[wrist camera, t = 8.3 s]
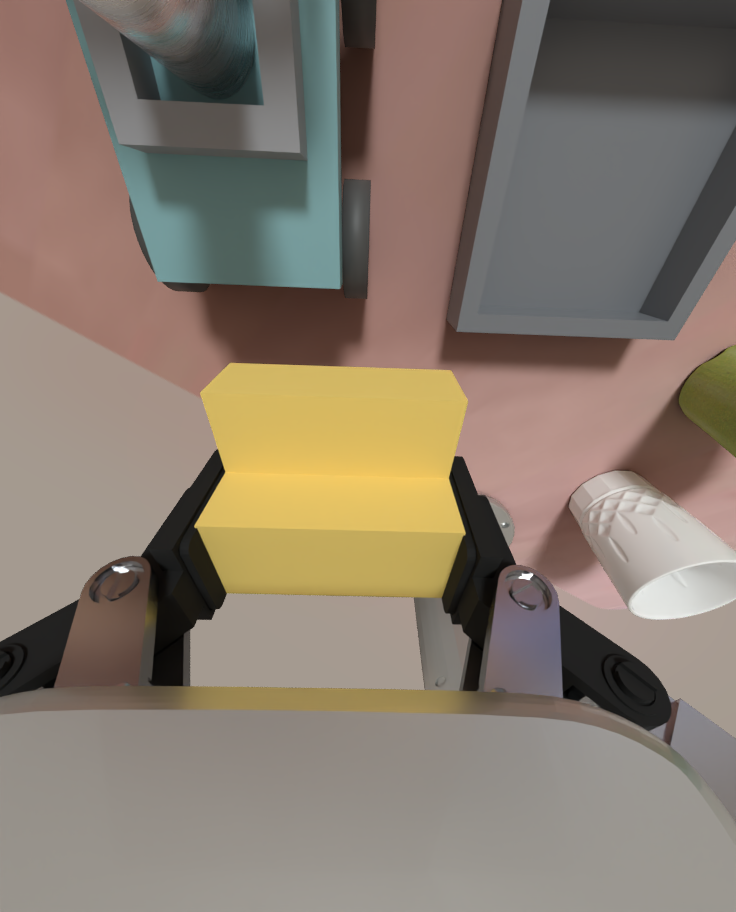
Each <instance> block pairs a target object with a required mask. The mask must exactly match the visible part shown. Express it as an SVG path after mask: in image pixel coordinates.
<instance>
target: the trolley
mask: <svg viewBox="0 0 736 912" xmlns="http://www.w3.org/2000/svg"><path fill="white" fill-rule="evenodd" d="M66 2H67V5H68V9H69V12H70V15H71V18H72V21H73V24H74V27H75V30H76V33H77V36H78V39H79V42H80V45H81V48H82V51H83V54H84V57H85V61H86V64H87V67H88V70H89V73H90V76H91V79H92V82H93V85H94V88H95V91H96V94H97V97H98V100H99V103H100V106H101V109H102V113H103V116H104V119H105V122H106V125H107V128H108V131H109V134H110V137H111V140H112V143H113V146H114V149H115V152H116V155H117V158H118V161H119V164H120V168H121V171H122V174H123V177H124V180H125V183H126V186H127V189H128V192H129V202H130V212H131V218H132V222H133V226H134V230H135V233H136V237H137V240H138V242H139V245H140V247H141V250H142V252H143V254H144V256H145V258H146V260H147V262H148V264H149V265H150V267H151V269H152V270H153V272H154V273H155V275H156V278H157V281H158V282H163V283H164V284H165V285H166V286H167V287H168V288H170V289H172V290H175V291H187V292H204V291H205V290H207V289H208V287H209V286H210V284H231V285H256V286H280V287H304V288H329V289H340V288H341V286H342V284H343V285H344V295H345V298H359V299H367V287H368V256H369V223H370V189H371V180H355V179H345V180H344V185H343V203H342V197H341V114H340V31H339V0H248V2H249V5H250V9H251V13H252V18H253V24H254V33H255V52H254V60H253V65H252V68H251V71H250V74H249V77H248V79H247V81H246V82H245V84H244V85H243V87H242V88H241V89H240V90H239V91H238V92H237V93H236V94H234V95H232V96H230V97H228V98H224V99H214V98H209V97H206V96H204V95H202V94H200V93H198V92H197V91H195V90H194V89H193V88H191V87H190V86H189V85H187V84H186V83H185V82H184V81H182V80H181V79H180V78H178V77H177V76H176V75H175V74H173V73H172V72H171V71H169V70H168V69H167V68H166V67H164V66H163V65H162V64H160V63H159V62H158V61H157V60H155V59H154V58H153V57H151V56H150V55H149V54H147V53H146V52H145V51H144V50H142V49H141V48H140V47H138V46H137V45H136V44H135V43H133V42H132V41H131V40H129V39H128V38H127V37H126V36H124V35H123V34H122V33H120V32H119V31H118V30H117V29H115V28H114V27H113V26H111V25H110V24H109V23H108V22H106V21H105V20H104V19H102V18H101V17H100V16H99V15H97V14H96V13H95V12H93V11H92V10H91V9H89V8H88V7H87V6H86V5H84V4H83V3H82V2H80V1H79V0H66ZM341 4H342V22H343V35H344V44H345V47H354V48H373V49H375V28H376V0H341ZM342 265H343V279H342Z"/></svg>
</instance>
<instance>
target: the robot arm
mask: <svg viewBox="0 0 736 912" xmlns="http://www.w3.org/2000/svg"><path fill="white" fill-rule="evenodd" d="M224 474H225V469H224V466H223V463H222V460H221V456H220V453H219V450H218V449H217V450H216V451H215V452H214V453H213V455H212V456H211V458H210V459H209V461H208V462H207V464H206V465H205V467H204V468H203V470H202V471H201V473H200V474H199V475H198V477H197V479H196V480H195V481H194V483H193V484H192V486H191V487H190V488H188V489H187V490H186V491H185V493H184V494H183V496H182V497H181V498H180V500H179V501H178V503H177V504H176V506H175V507H174V509H173V510H172V512H171V513H170V514H169V516H168V517H167V519H166V520H165V522H164V523H163V525H162V526H161V528H160V529H159V531H158V532H157V534H156V535H155V536H154V538H153V539H152V541H151V542H150V544H149V545H148V547H147V548H146V550H145V551H144V553H143V554H142V556H141V557H140V556H129V557H123V558H120V559H117V560H115V561H112V562H110V563H108V564H107V565H105V566H103V567H102V568H100V569H99V570H98V571H97V572H95V573H94V574H93V575H92V576H91V577H90V578H89V580H88V581H87V582H86V583H85V585H84V587H83V589H82V592H81V595H80V599H79V600H77V601H75V602H73V603H71V604H70V605H68V606H66V607H64V608H62V609H60V610H59V611H57V612H55V613H53V614H51V615H49V616H47V617H45V618H44V619H42V620H40V621H38V622H36V623H34V624H33V625H31V626H29V627H27V628H25V629H23V630H21V631H19V632H18V633H16V634H14V635H12V636H11V637H8V638H6V639H5V640H3V641H1V642H0V912H736V738H734V737H733V736H732V735H730V734H729V733H727V732H726V731H724V730H723V729H722V728H720V727H719V726H718V725H716V724H715V723H714V722H712V721H711V720H709V719H708V718H707V717H705V716H704V715H702V714H701V713H700V712H698V711H697V710H696V709H694V708H693V707H692V706H690V705H689V704H687V703H686V702H685V701H683V700H682V699H678V700H676V701H675V700H674V699H672V698H671V697H670V696H668V694H667V691H666V689H665V688H664V686H663V685H662V683H661V682H660V680H659V679H658V678H657V676H656V675H655V674H654V673H653V672H652V671H651V670H650V669H649V668H648V667H647V666H646V665H645V664H643V663H642V662H641V661H640V660H639V659H637V658H636V657H634V656H633V655H631V654H630V653H628V652H627V651H625V650H624V649H623V648H621V647H620V646H618V645H617V644H615V643H613V642H612V641H611V640H609V639H608V638H606V637H605V636H604V635H602V634H600V633H599V632H598V631H596V630H595V629H593V628H591V627H590V626H589V625H587V624H586V623H584V622H583V621H582V620H580V619H579V618H577V617H576V616H574V615H573V614H571V613H570V612H568V611H567V610H565V609H564V608H562V607H561V606H560V605H559V600H558V595H557V592H556V590H555V589H554V587H553V585H552V584H551V583H550V582H549V581H548V579H547V578H546V577H544V576H543V575H542V574H540V573H539V572H538V571H536V570H534V569H532V568H530V567H526V566H522V565H516V563H515V561H514V558H513V556H512V554H511V551H510V549H509V546H510V544H511V543H512V540H513V537H514V529H515V527H514V524H513V520H512V518H511V516H510V514H509V512H508V511H507V509H506V508H505V507H504V506H503V505H502V504H501V503H499V502H498V501H496V500H495V499H493V498H491V497H488V496H486V495H482V494H478V493H477V491H476V488H475V486H474V483H473V481H472V478H471V476H470V473H469V471H468V468H467V466H466V463H465V461H464V459H463V457H458V456H454V460H453V463H452V467H451V471H450V475H449V481H450V484H451V488H452V491H453V494H454V497H455V500H456V504H457V507H458V510H459V513H460V517H461V520H462V523H463V526H464V529H465V533H466V534H465V535H463V538H462V541H461V544H460V546H459V549H458V552H457V555H456V558H455V561H454V564H453V567H452V570H451V573H450V575H449V578H448V581H447V584H446V587H445V590H444V593H443V596H442V598H421V597H414V603H415V612H416V620H417V629H418V637H419V646H420V654H421V663H422V671H423V680H424V688H425V690H396V689H342V688H338V689H337V688H277V687H194V686H190V629H192V628H193V627H194V625H195V623H196V621H197V620H199V619H200V620H211V619H212V617H213V615H214V612H215V609H220V607H221V606H222V604H223V602H224V599H225V597H226V594H227V593H226V591H225V589H224V586H223V584H222V582H221V580H220V578H219V575H218V573H217V571H216V569H215V567H214V564H213V562H212V560H211V558H210V555H209V553H208V551H207V549H206V547H205V544H204V542H203V540H202V538H201V536H200V533H199V531H198V529H197V528H195V527H194V526H195V524H196V522H197V520H198V519H199V517H200V515H201V514H202V512H203V510H204V508H205V507H206V505H207V503H208V502H209V500H210V498H211V496H212V495H213V493H214V491H215V490H216V488H217V486H218V484H219V483H220V481H221V479H222V477H223V476H224Z"/></svg>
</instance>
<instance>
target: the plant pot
mask: <svg viewBox="0 0 736 912" xmlns="http://www.w3.org/2000/svg"><path fill="white" fill-rule="evenodd" d="M679 405H680V407H681V409H682V411H683V413H684V414H685V415H686V416H687V417H688V418H689V419H690V420H691V421H693V422H694V423H695V424H696V425H697V426H699V427H700V428H701V429H702V430H704V431H705V432H706V433H707V434H709V435H710V436H711V437H712V438H713V439H714V440H716V441H717V442H718V443H719V444H720V445H722V446H723V447H724V448H725V449H726V450H727V451H729V452H730V453H731V454H732V455H733V456H734V457H736V345H734V346H731V347H729V348H727V349H726V350H725V351H724V352H723V353H722V354H720V355H719V356H717V357H716V358H714V359H712V360H710V361H708V362H706V363H703V364H702V365H700V366H699V367H698V368H697V369H696V370H695V371H694V372H693V373H692V374H691V375H690V377H689V378H688V379H687V381H686V383H685V384H684V386H683V388H682V390H681V392H680V396H679Z"/></svg>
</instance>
